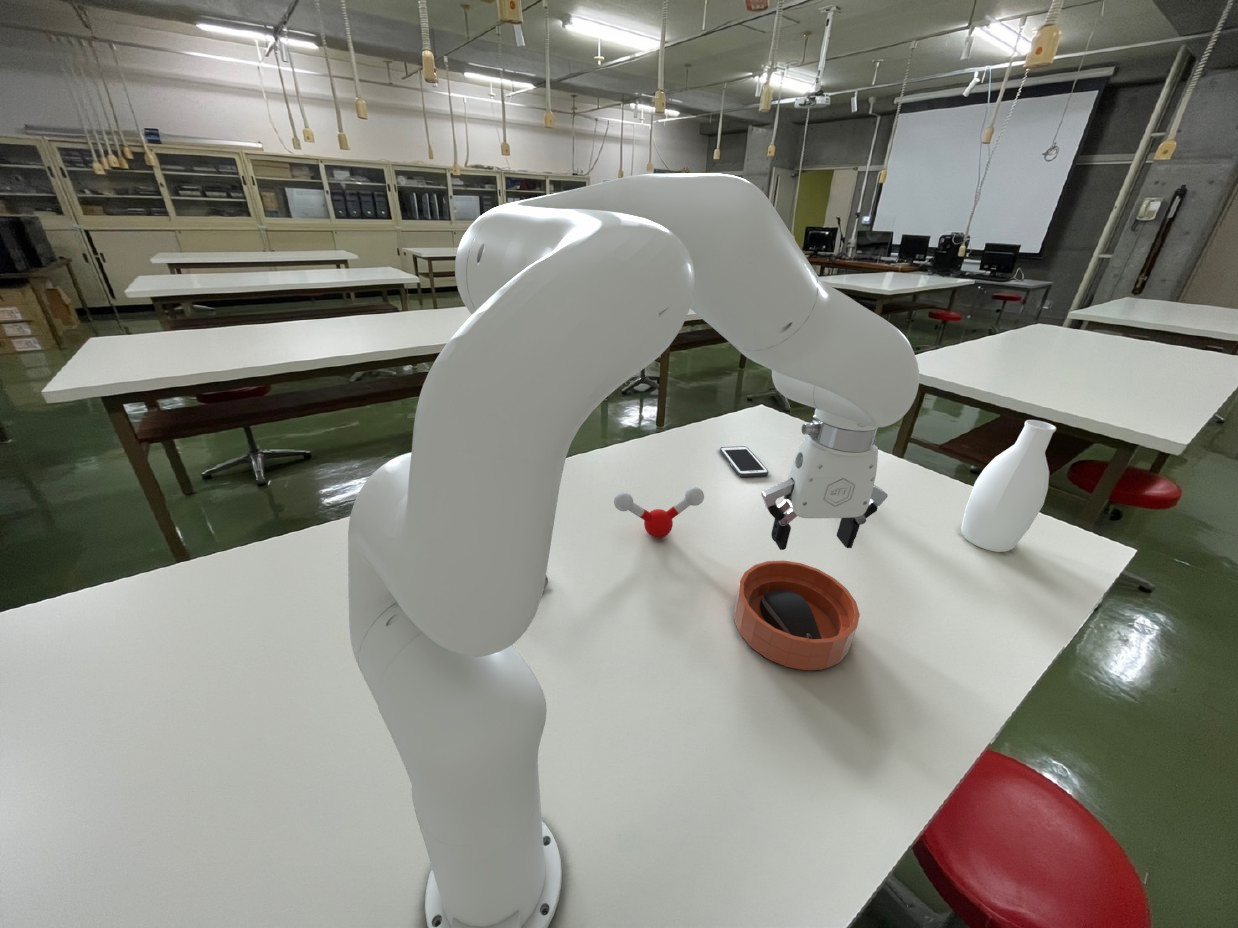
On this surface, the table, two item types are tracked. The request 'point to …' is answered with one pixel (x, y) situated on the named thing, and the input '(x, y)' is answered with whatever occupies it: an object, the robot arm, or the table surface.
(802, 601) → the computer mouse
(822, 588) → the bowl
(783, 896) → the table surface
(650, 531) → the molecular model
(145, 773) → the table surface
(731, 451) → the cell phone
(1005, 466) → the bottle
